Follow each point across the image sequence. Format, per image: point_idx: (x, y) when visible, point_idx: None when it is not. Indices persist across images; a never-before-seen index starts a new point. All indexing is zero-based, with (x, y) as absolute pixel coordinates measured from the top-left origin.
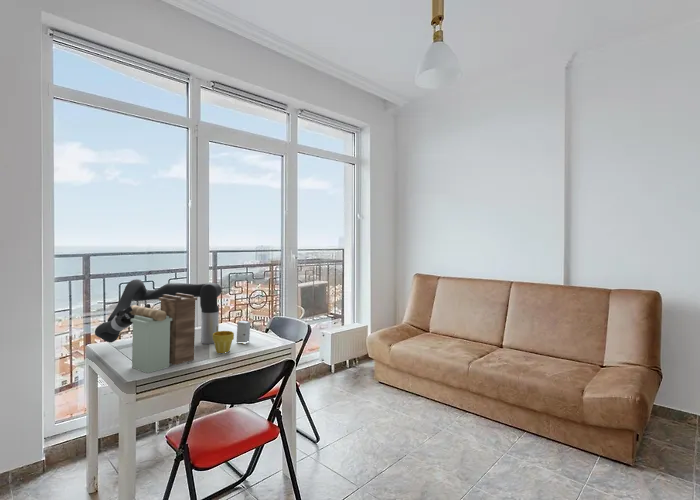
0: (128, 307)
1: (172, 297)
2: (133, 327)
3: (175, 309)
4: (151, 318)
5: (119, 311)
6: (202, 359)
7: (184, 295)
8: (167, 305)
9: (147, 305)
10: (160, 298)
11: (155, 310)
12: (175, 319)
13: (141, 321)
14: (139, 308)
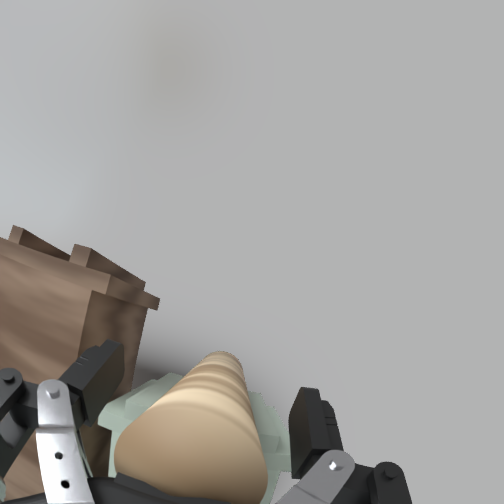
0: (319, 405)
1: (128, 279)
2: (268, 499)
3: (138, 339)
4: (249, 393)
5: (390, 470)
6: None
7: (66, 258)
8: (116, 326)
9: (116, 359)
10: (117, 283)
11: (231, 357)
12: (130, 382)
13: (279, 418)
14: (241, 387)
